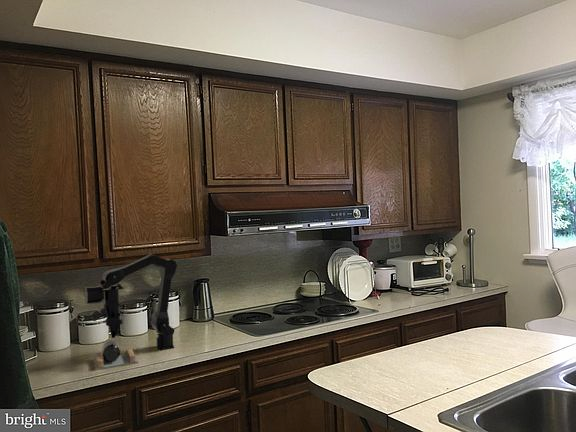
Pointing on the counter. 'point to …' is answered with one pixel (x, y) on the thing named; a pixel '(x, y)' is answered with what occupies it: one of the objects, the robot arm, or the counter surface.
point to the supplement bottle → (110, 350)
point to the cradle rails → (128, 350)
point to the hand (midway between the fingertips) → (113, 337)
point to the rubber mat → (115, 362)
